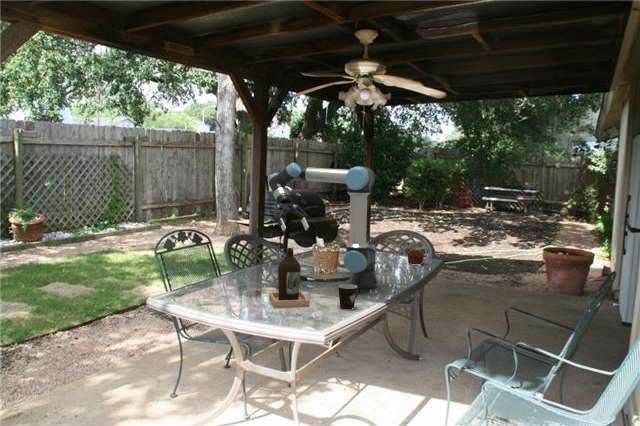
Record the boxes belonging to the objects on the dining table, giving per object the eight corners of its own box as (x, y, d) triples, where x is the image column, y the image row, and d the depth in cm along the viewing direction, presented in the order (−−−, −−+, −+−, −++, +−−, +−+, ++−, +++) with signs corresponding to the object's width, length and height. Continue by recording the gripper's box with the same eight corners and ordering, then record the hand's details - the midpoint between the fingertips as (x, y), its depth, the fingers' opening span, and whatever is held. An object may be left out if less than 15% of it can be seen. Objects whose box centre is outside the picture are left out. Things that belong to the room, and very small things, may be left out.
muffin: (403, 263, 345) (404, 248, 344) (416, 262, 349) (417, 248, 348) (413, 266, 334) (414, 251, 333) (427, 265, 339) (428, 251, 338)
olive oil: (273, 299, 237) (274, 247, 235) (292, 296, 243) (293, 245, 241) (284, 304, 229) (285, 250, 226) (304, 301, 235) (305, 249, 232)
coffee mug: (340, 310, 225) (341, 288, 224) (335, 305, 233) (335, 284, 232) (365, 309, 228) (366, 288, 227) (358, 304, 236) (359, 283, 235)
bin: (302, 297, 246) (302, 291, 245) (309, 306, 230) (309, 300, 230) (269, 298, 242) (269, 292, 242) (274, 307, 226) (274, 301, 226)
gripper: (299, 202, 278) (313, 232, 267) (259, 202, 264) (272, 234, 253) (304, 193, 273) (319, 223, 262) (264, 193, 259) (277, 225, 248)
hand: (296, 229), depth 258 cm, fingers open, 13 cm apart
